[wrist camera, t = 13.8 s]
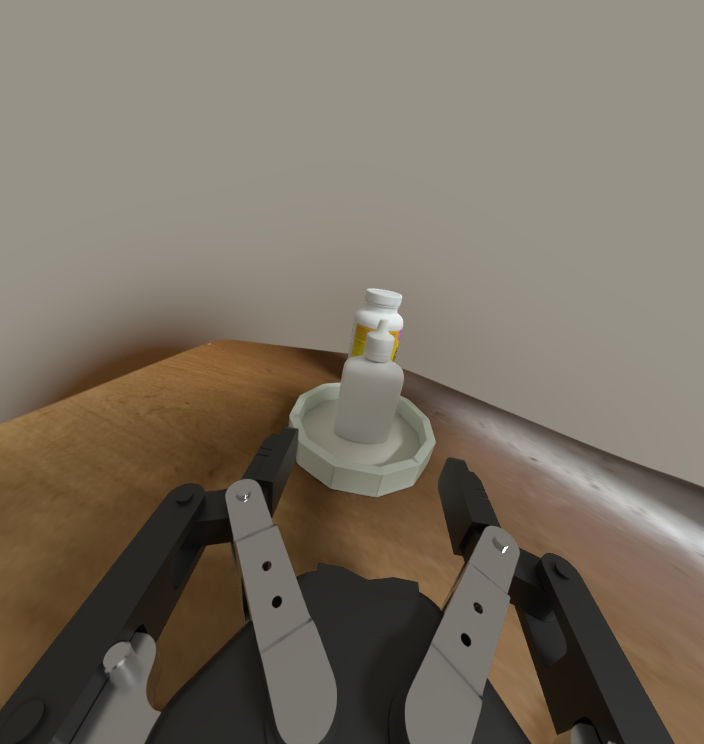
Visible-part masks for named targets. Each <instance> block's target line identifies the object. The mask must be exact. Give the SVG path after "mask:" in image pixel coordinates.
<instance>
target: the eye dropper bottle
mask: <svg viewBox="0 0 704 744" xmlns="http://www.w3.org/2000/svg"><path fill="white" fill-rule="evenodd" d="M388 326H389V320H387V319H380V321H379V324H378V326H377V328H376V330H374V331H370V332H368V333H367V337H366V342H365V348H364V353H363V355H360V356H354V357H351V358H349V359H348V360H346V362H345V364H344V368H343V372H342V378H341V384H340V391H339V397H338V403H337V410H336V416H335V423H334V432H335V433H336V434H337V435H338V436H340V437H342V438H345V439H347V440H350V441H353V442H358V443H364V444H379V443H384V442H386V441H387V440H388V437H389V434H390V430H391V427H392V423H393V420H394V416H395V412H396V409H397V405H398V401H399V397H400V394H401V390H402V386H403V382H404V374H403V371H402V369H401V367H400V366H398V365H397V364H396V363H394V362H392V361H390V358H391V354H392V350H393V346H394V341H395V338H394V336H392V335H391V334H390V333H389V331H388Z"/></svg>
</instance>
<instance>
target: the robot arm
mask: <svg viewBox="0 0 704 744" xmlns="http://www.w3.org/2000/svg"><path fill="white" fill-rule="evenodd" d="M298 434H299V429H298V428H292V427H287V426H284V428H283V430H282V431H281V433H280V435H275V434H272V435H270V436H269V437H268V438H266V439H265V440H264V442H263V444H262V445H261V447H260V449H259V450H258V452H257V454H256V455H255V457H254V459H253V460H252V462H251V464H250V465H249V467H248V469H247V470H246V472H245V474H244V475H243V477H242V479H241V480H239V481H237V482H235V483H233V484H232V485H231V486H230V487H229V488H228V489H224V490H218V491H208V492H204V489H203V488H202V486H200V485H198V484H194V483H190V484H184V485H181V486H179V487H177V488H175V489H174V490H172V491H171V492H170V493H169V494H168V495H167V496H166V497H165V499H164V500H163V501H162V503H161V504H160V505H159V506H158V508H157V509H156V510H155V512H154V513H153V514H152V515H151V517H150V518H149V519H148V521H147V522H146V523H145V525H144V526H143V527H142V528H141V530H140V531H139V532H138V534H137V535H136V536H135V537H134V539H133V540H132V541H131V543H130V544H129V545H128V546H127V548H126V549H125V550H124V552H123V553H122V554H121V555H120V557H119V558H118V559H117V561H116V562H115V563H114V564H113V566H112V567H111V568H110V570H109V571H108V572H107V574H106V575H105V576H104V577H103V579H102V580H101V581H100V583H99V584H98V585H97V586H96V588H95V589H94V590H93V592H92V593H91V594H90V595H89V597H88V598H87V599H86V601H85V602H84V603H83V604H82V606H81V607H80V608H79V610H78V611H77V612H76V613H75V615H74V616H73V617H72V619H71V620H70V621H69V623H68V624H67V625H66V626H65V628H64V629H63V630H62V632H61V633H60V634H59V635H58V637H57V638H56V639H55V641H54V642H53V643H52V644H51V646H50V647H49V648H48V650H47V651H46V652H45V653H44V655H43V656H42V657H41V659H40V660H39V661H38V662H37V664H36V665H35V666H34V668H33V669H32V670H31V672H30V673H29V674H28V675H27V677H26V678H25V679H24V681H23V682H22V683H21V684H20V686H19V687H18V688H17V690H16V691H15V692H14V693H13V695H12V696H11V697H10V699H9V700H8V701H7V702H6V704H5V705H4V706H3V708H2V709H1V710H0V744H531V742H530V741H529V740H528V738H527V737H526V735H525V734H524V732H523V731H522V729H521V728H520V726H519V725H518V723H517V722H516V720H515V719H514V717H513V716H512V714H511V713H510V711H509V710H508V708H507V707H506V705H505V704H504V702H503V701H502V699H501V698H500V696H499V695H498V693H497V692H496V690H495V689H494V687H493V686H492V684H491V683H490V681H489V680H488V678H487V676H488V673H489V670H490V666H491V663H492V659H493V656H494V653H495V649H496V646H497V643H498V639H499V636H500V632H501V629H502V626H503V622H504V619H505V615H506V612H507V609H508V605H509V603H511V604H513V605H514V606H515V608H516V611H517V614H518V617H519V620H520V623H521V626H522V630H523V633H524V636H525V639H526V642H527V645H528V648H529V651H530V654H531V657H532V660H533V663H534V666H535V669H536V672H537V675H538V678H539V681H540V684H541V688H542V691H543V694H544V697H545V700H546V703H547V706H548V709H549V712H550V715H551V718H552V721H553V724H554V727H555V730H556V733H557V736H556V737H555V738H554V740H553V744H674V742H673V740H672V738H671V736H670V735H669V733H668V731H667V729H666V728H665V726H664V724H663V722H662V720H661V719H660V717H659V715H658V713H657V711H656V710H655V708H654V706H653V704H652V702H651V701H650V699H649V697H648V695H647V694H646V692H645V690H644V688H643V686H642V685H641V683H640V681H639V679H638V677H637V676H636V674H635V672H634V670H633V669H632V667H631V665H630V663H629V661H628V660H627V658H626V656H625V654H624V652H623V651H622V649H621V647H620V645H619V643H618V642H617V640H616V638H615V636H614V635H613V633H612V631H611V629H610V627H609V626H608V624H607V622H606V620H605V618H604V617H603V615H602V613H601V611H600V610H599V608H598V606H597V604H596V602H595V601H594V599H593V597H592V595H591V593H590V592H589V590H588V588H587V586H586V584H585V583H584V581H583V579H582V577H581V576H580V574H579V573H578V571H577V570H576V569H575V568H574V567H573V566H572V565H571V564H570V563H569V562H568V561H567V560H565V559H564V558H562V557H560V556H558V555H556V554H553V553H546V554H544V555H543V556H542V558H539V557H537V556H535V555H533V554H531V553H529V552H527V551H525V550H523V549H521V548H519V547H518V545H517V543H516V541H515V540H514V538H513V537H512V536H511V535H510V534H509V533H507V532H506V531H505V530H503V529H501V527H500V524H499V522H498V520H497V517H496V515H495V513H494V510H493V508H492V506H491V503H490V501H489V500H488V496H487V494H486V492H485V489H484V487H483V485H482V482H481V480H480V479H479V478H478V477H477V476H476V475H475V473H474V472H470V471H469V470H468V468H467V465H466V463H465V461H464V460H461V459H456V458H450V457H449V458H448V459H447V460H446V463H445V465H444V468H443V470H442V472H441V475H440V477H439V481H438V490H439V494H440V498H441V502H442V507H443V511H444V515H445V519H446V523H447V528H448V532H449V536H450V540H451V544H452V549H453V553H454V555H459V556H463V558H464V562H465V563H464V564H463V566H462V568H461V570H460V572H459V574H458V576H457V578H456V580H455V582H454V584H453V586H452V588H451V590H450V592H449V594H448V596H447V598H446V600H445V602H444V604H443V605H442V607H441V609H440V608H439V607H438V606H437V605H436V604H435V603H434V602H433V601H432V600H430V599H429V598H428V597H427V596H425V595H424V594H422V593H420V592H419V587H418V582H415V581H410V580H405V579H400V578H395V577H392V578H383V579H374V580H367V579H365V578H363V577H361V576H359V575H357V574H355V573H353V572H351V571H349V570H347V569H345V568H343V567H339V566H334V565H329V564H323V563H318V568H317V571H311V572H307V573H304V574H302V575H299V576H298V577H296V576H295V573H294V571H293V568H292V565H291V562H290V559H289V557H288V554H287V551H286V548H285V545H284V542H283V540H282V537H281V534H280V531H279V529H278V527H277V525H276V524H275V525H274V524H273V522H272V519H271V518H272V517H273V515H274V512H275V510H276V507H277V505H278V502H279V500H280V497H281V495H282V492H283V490H284V487H285V484H286V482H287V479H288V477H289V474H290V472H291V469H292V467H293V464H294V462H295V459H296V454H297V447H298ZM227 542H230V546H231V551H232V556H233V561H234V566H235V572H236V577H237V582H238V588H239V595H240V602H241V607H242V612H243V618H244V623H245V626H243V627H242V628H241V629H240V630H239V631H238V632H237V633H236V634H235V635H234V636H233V637H232V638H231V639H230V640H229V641H228V642H227V643H226V644H225V645H224V646H223V647H222V648H221V649H220V650H219V651H218V652H217V653H216V654H215V655H214V656H213V657H212V658H211V659H210V660H209V661H208V662H207V663H206V664H205V665H204V666H203V667H202V668H201V669H200V670H199V671H198V672H197V673H196V674H195V675H194V676H193V677H192V678H191V679H190V680H189V681H188V682H187V683H186V684H185V685H184V686H183V687H182V688H181V689H180V690H179V691H178V692H177V693H176V694H175V695H174V696H173V697H172V699H171V700H170V701H169V702H168V704H167V705H166V706H165V708H164V709H163V711H162V712H159V711H156V710H154V694H155V690H156V687H157V684H158V681H159V679H160V675H161V671H162V659H161V656H160V654H159V651H158V649H157V646H156V642H157V640H158V638H159V636H160V634H161V632H162V630H163V628H164V626H165V625H166V623H167V621H168V619H169V617H170V615H171V613H172V611H173V609H174V607H175V605H176V603H177V601H178V599H179V597H180V596H181V594H182V592H183V590H184V588H185V586H186V584H187V582H188V580H189V578H190V576H191V574H192V572H193V570H194V568H195V567H196V565H197V563H198V561H199V559H200V557H201V555H202V553H203V551H204V549H205V547H206V546H207V545H213V544H220V543H227Z"/></svg>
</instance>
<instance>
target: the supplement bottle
mask: <svg viewBox="0 0 704 744" xmlns="http://www.w3.org/2000/svg"><path fill="white" fill-rule="evenodd" d="M365 299H366V300H365V301H366V304H365V307H363V308H360V309H359V310H358V311H357V312H356V313H355V317H354V322H353V329H352V336H351V342H350V349H349V354H348V359H349V358H351V357H354V356H360V355H363V353H364V348H365V342H366V337H367V333H368V332H370V331H374V330H376V328H377V326H378V324H379V321H380V319H387V320H389V326H388V331H389V333H390V334H391V335H392V336H394V338H395V341H394V346H393V350H392V354H391V358H390V361H392V362H394V361H395V356H396V352H397V347H398V344H399V340H400V335H401V332H402V328H403V320H402V318H401V316H400V315H399V314H398V313H397V309H398V307H399V305H401V300H402V295H400V294H398V293H395V292H392V291H387V290H382V289H372V288H370V289H367V290H366V295H365Z"/></svg>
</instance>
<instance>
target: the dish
mask: <svg viewBox="0 0 704 744" xmlns="http://www.w3.org/2000/svg"><path fill="white" fill-rule="evenodd" d="M340 384H341V383H329V384H322V385H320V386H318V387H316V388H314V389H312V390H310V391H308V392H306V393H304V394H302V395H300V396H299V398H298V400H297V402H296V404H295V406H294V408H293V409H292V411H291V413H290V415H289V427H292V428H298V429H299V434H298V447H297V454H296V461H297V464H298V465H299V466H301V467H302V468H303V469H305V470H306V471H307V472H309V473H310V474H311V475H313V476H314V477H315V478H317V479H318V480H319V481H321V482H322V483H323V484H325V485H326V486H327V487H329V488H331V489H335V490H340V491H345V492H350V493H356V494H361V495H366V496H371V497H379V496H382V495H385V494H388V493H392V492H395V491H398V490H401V489H405V488H408V487H411V486H413V485H414V484H415V482H416V481H417V479H418V478H419V476H420V474H421V473H422V471H423V470H424V468H425V467H426V465H427V463H428V462H429V459H430V456H431V454H432V451H433V449H434V446H435V443H436V441H435V438H434V434H433V431H432V427H431V424H430V420H429V418H428V417H427V416H426V415H424V414H423V413H422V412H421V411H420V410H419V409H418V408H417V407H416V406H415V405H414V404H413V403H412V402H411V401H410V400H408V399H406V398H404V397H402V396H400V397H399V401H398V405H397V409H396V412H395V416H394V420H393V423H392V427H391V430H390V434H389V437H388V440H387V441H386V442H384V443H379V444H364V443H358V442H353V441H350V440H347V439H345V438H342V437H340V436H338V435H337V434H336V433H335V432H334V423H335V416H336V410H337V403H338V397H339V391H340Z"/></svg>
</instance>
